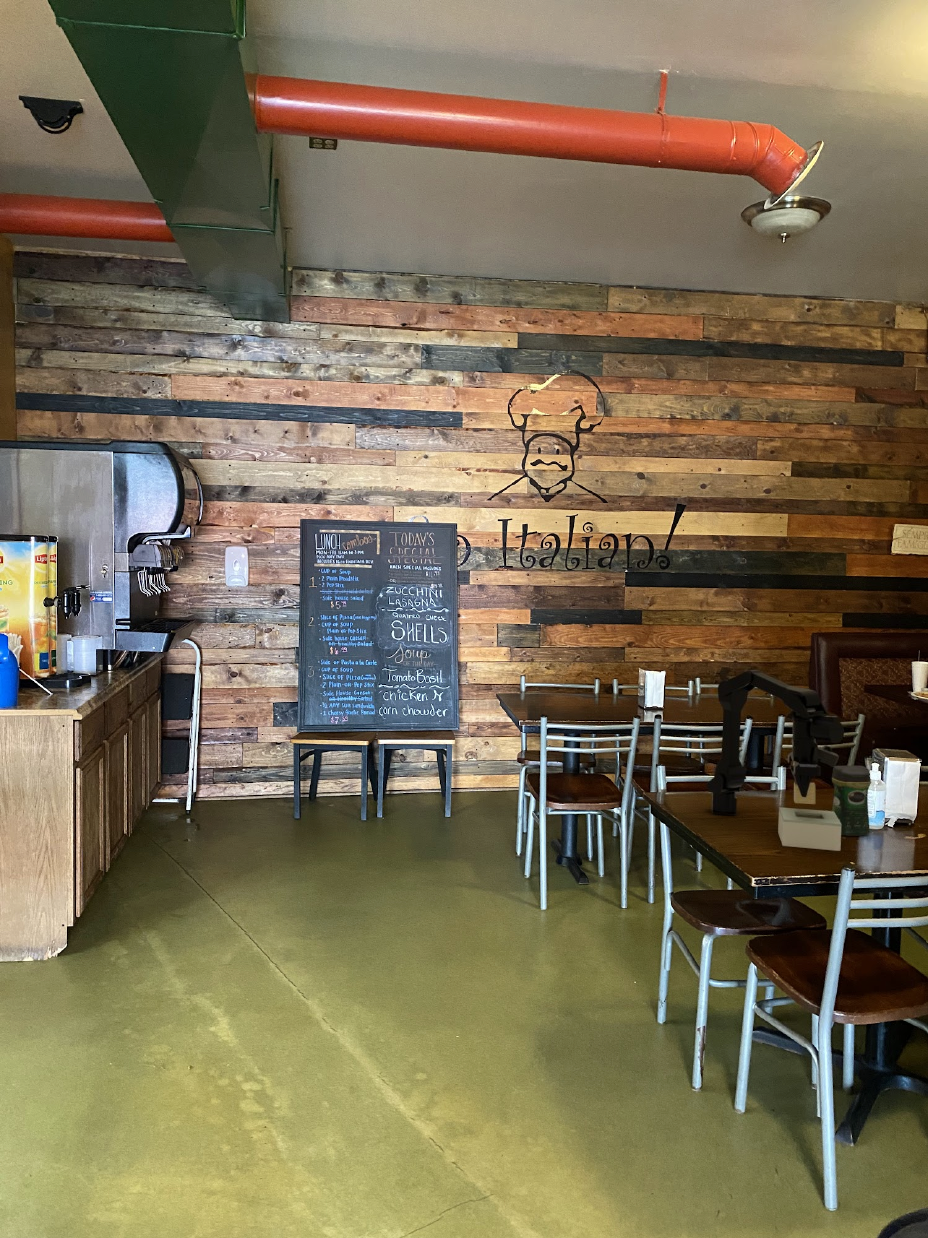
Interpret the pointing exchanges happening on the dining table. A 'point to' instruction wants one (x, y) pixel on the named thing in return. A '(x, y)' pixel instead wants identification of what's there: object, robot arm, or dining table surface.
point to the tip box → (809, 829)
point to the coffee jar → (851, 799)
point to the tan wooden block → (809, 798)
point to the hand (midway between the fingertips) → (803, 795)
